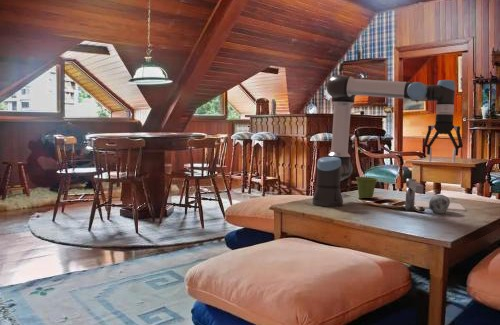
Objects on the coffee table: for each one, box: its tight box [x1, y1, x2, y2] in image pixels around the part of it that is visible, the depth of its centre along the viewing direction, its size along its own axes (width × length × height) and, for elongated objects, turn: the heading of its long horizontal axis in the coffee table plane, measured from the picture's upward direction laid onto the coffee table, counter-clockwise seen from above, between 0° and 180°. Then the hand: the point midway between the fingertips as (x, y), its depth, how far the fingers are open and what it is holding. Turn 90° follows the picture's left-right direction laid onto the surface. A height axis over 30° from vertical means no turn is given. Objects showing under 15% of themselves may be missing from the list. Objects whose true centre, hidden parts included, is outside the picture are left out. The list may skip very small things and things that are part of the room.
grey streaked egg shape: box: [428, 194, 451, 215], centre depth 212 cm, size 14×10×10 cm
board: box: [414, 200, 466, 212], centre depth 227 cm, size 22×17×1 cm
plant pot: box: [355, 176, 379, 199], centre depth 248 cm, size 12×12×11 cm
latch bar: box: [405, 178, 424, 194], centre depth 205 cm, size 24×4×4 cm, turn 169°
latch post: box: [404, 186, 416, 212], centre depth 215 cm, size 4×4×11 cm
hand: (441, 162), depth 210 cm, fingers open, 9 cm apart
